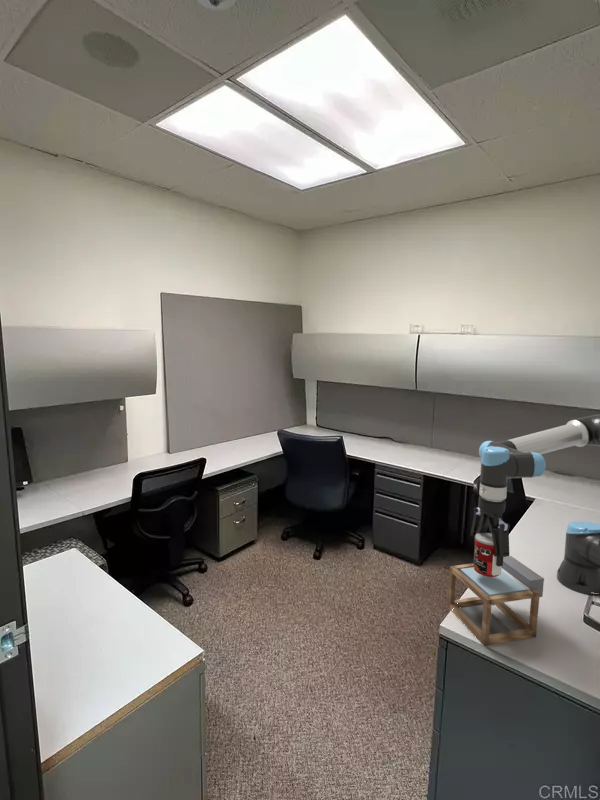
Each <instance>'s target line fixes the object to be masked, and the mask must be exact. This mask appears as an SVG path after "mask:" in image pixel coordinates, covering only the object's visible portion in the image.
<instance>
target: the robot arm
mask: <svg viewBox="0 0 600 800" xmlns="http://www.w3.org/2000/svg"><path fill="white" fill-rule="evenodd" d="M574 446H575V447H579V448H582V447H586V446H594V447H600V413H599V414H594V415H588V416H583V417H578V418H576V419H575V418H574V419H571V420H569V421H567V423H565V424H564V425H560V426H556V427H552V428H549V429H545V430H541V431H537V432H532V433H530V434H526V435H521V436H518V437H514V438H510V439H507V440H503V441H502V440H501V441H499V442H498V441H494V440H486V441H483V442H482V443H481V444H480V446H479V448H478V454H479V457H480V473H479V474H480V475H479V476H480V477H479V493H478V494H479V496H478V505H477V506H478V507H474V508H473V517H472V523H471V524H472V525H471V529H470V536H471V537H473V539H474V541H475V537H476V534H478V533H487V531H488V529H489V533H491V534H492V539H493V543H494V549H495V554H493V563H492V575H493V576H495V575H501V569H502V566H503V557H508V556H510V534H509V532H510V528H511V524H510V523H509V522H507V523H506V522H505V521H504V520H503V514H504V513H505V511H506V504H507V503H506V499H507V494H508V493H507V490H508V480H509V479H523V478H524V479H525V478H529V479H530V478H531V479H532V478H535V477H541V476H542V475H544V474H545V472H546V467H547V464H546V463H547V462H546V459H545V458H544V456H543V455H544V454H548V453H552V452H556V451H559V450H563V449H566V448H571V447H574ZM499 551H500V552H499ZM556 579H557V581H558V582H559V583H560V584H562V585H563V586H564V587H566V588H568V589H571V590H573V591H575V592H578V593H581V594H587V595H590V594H589V593H591V592H594V593H600V524H599V523H598V522H591V521H586V520H584V521H583V520H582V521H580V520H579V521H578V520H576V521H570V522H569V523H568V524H567V529H566V532H565V543H564V557H563V560H562V562H561V563H560V565H559V568H558V569H557V571H556Z"/></svg>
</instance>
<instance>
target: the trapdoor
mask: <svg viewBox="0 0 600 800" xmlns="http://www.w3.org/2000/svg"><path fill="white" fill-rule="evenodd" d="M460 572H461V573H463V574H464V575H465V576H466V577H467V578H468V579H469V580H470V581H472V582H473V583H474V584H475V585H476V586H477V587H478V588H479V589H481V590H482V591H483V592H484V593H485V594H486V595H487V596H495V595H502V594H509V593H516V592H523V591H529V590H530V591H531V592H532V590H537V591H539V592H540V597H539V598H543V594H544V593H543V592H544V586H545V585H544V583H545V582H544V581H545V578H544V577H543V576H541V575H539V574H538V573H537V572H535V571H534V570H532V569H531V568H529V567H528V566H527V565H525V564H524V563H522V562H521V561H519V560H518V559H516V558H515V557H513V556H512V555H509V556H507V557H503V566H502V569H501V575H499V576H496V577H487V576H483V575H481V574H479V573H477V572H476V571H475V570H474V567H471V568H464V569H460ZM530 600H531V598H530Z"/></svg>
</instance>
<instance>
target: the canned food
mask: <svg viewBox="0 0 600 800" xmlns="http://www.w3.org/2000/svg"><path fill="white" fill-rule="evenodd" d="M499 552H500V551H499ZM493 554H495V549H494V543H493V539H492V533H491V532H486V533H478V534H476V537H475V540H474V550H473V563H474V564H473V566H474V570H475V571H476V572H477V573H479V574H481V575H483V576H487V577H496V576H499V575H495V576H493V575H492V563H493Z"/></svg>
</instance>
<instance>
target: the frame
mask: <svg viewBox="0 0 600 800" xmlns="http://www.w3.org/2000/svg"><path fill="white" fill-rule="evenodd" d="M473 564H474V562H472V563H465V564H458V565H450V566H449V575H448V588H447V590H448V592H447V608H448V609H449V610H450V611H451V612H452V613H453V614H454V615H455V616H456V618H459V619H460V620H461V621H462V622H463V623H462V622H461V621H460V620H459V619H458V620H459V621H460V622H461V623H462V624H463V625H464V624H465V625H464V627H466V626H467V627H466V629H468V631H469V632H470V633H473V634H474V635H475V636H476V637H475V636H474V635H473V634H472V635H473V636H474V637H475V638H476V639H477V640H478V642H480V644H482V646H491V645H498V644H502V643H508V642H512V641H513V642H515V641H521V640H525V639H531V638H537V630H538V629H537V627H538V618H539V616H538V615H539V608H540V598H541V597H540V592H539V591H537V590H532V592H531V591H530V590H529V591H523V592H516V593H509V594H502V595H495V596H487V595H486V594H485V593H484V592H483V591H482V590H481V589H479V588H478V587H477V586H476V585H475V584H474V583H473V582H472V581H470V580H469V579H468V578H467V577H466V576H465V575H464V574H463V573H461V572H460V569H464V568H471V567H474V566H473ZM456 579H458V580H459V581H460V582H461V583H462V584H464V585H465V586H466V587H467V588H468V589H469V590H470V591H471V592H472V593H473V594H474V595H476V596H473V597H467V598H460V599H461V600H460V599H459V598H458V599H455V598H456V597H455V596H456V583H457V582H456V581H457V580H456ZM530 598H531V599H530ZM529 599H530V607H529V616H528V617H529V619H528V622H527V621H526V620H525V619H524V618H522V617H521V616H520V615H518V614H517V612H515V611H514V610H513V609H512V608H511V607H509V605H507V604H506V603H508V602H515V601H523V600H529ZM457 603H458V604H457ZM492 605H495V606H496V607H497V608H498V609H499V610H500V611H501V612H502V613H503V614H505V615H506V616H507V617H508V618H509V619H511V621H512V622H514V623H515V624H516V625H517V626H518V627H519V628H521V629H517V630H516V629H515V630H511V629H509V628H508V626H506V625H505V624H504V623H503V622H502V621H501V620H500V619H499V618H498V617H497V616H495V615H494V614H493V613H492ZM453 608H454V609H453ZM452 609H453V611H452Z"/></svg>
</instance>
